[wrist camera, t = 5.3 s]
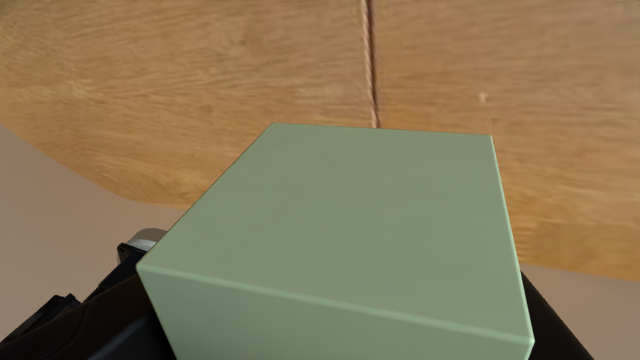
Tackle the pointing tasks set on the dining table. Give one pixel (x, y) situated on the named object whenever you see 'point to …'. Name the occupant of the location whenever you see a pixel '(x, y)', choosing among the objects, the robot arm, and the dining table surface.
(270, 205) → the block
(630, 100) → the dining table surface
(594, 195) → the dining table surface
